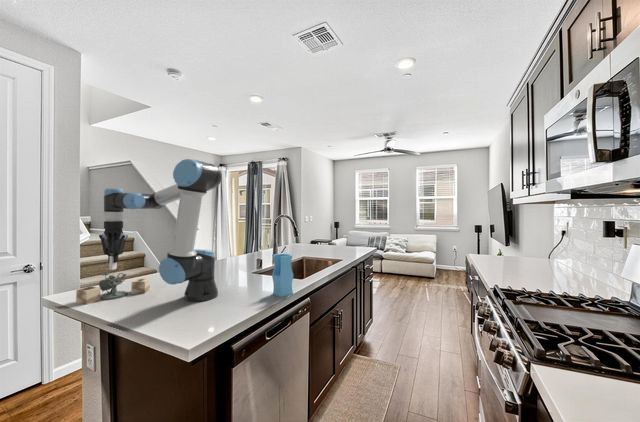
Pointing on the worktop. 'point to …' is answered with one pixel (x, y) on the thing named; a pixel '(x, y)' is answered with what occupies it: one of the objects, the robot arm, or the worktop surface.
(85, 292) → the marked cube
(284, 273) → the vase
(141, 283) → the marked cube
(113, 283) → the figurine
